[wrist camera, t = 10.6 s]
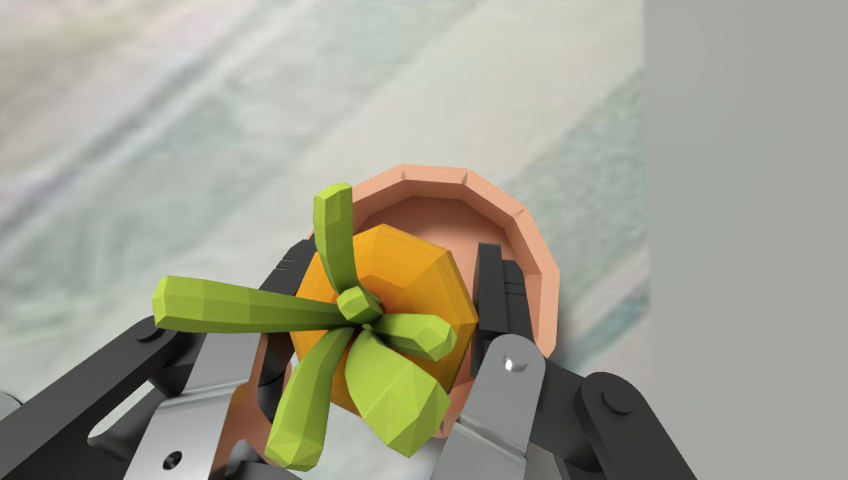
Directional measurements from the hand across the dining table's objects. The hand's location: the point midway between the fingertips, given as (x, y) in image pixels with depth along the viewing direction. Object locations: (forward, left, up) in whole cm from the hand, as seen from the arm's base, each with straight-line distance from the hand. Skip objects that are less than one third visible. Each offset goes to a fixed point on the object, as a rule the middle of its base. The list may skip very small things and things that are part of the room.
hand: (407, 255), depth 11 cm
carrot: (0, -2, -7) cm, 8 cm away
